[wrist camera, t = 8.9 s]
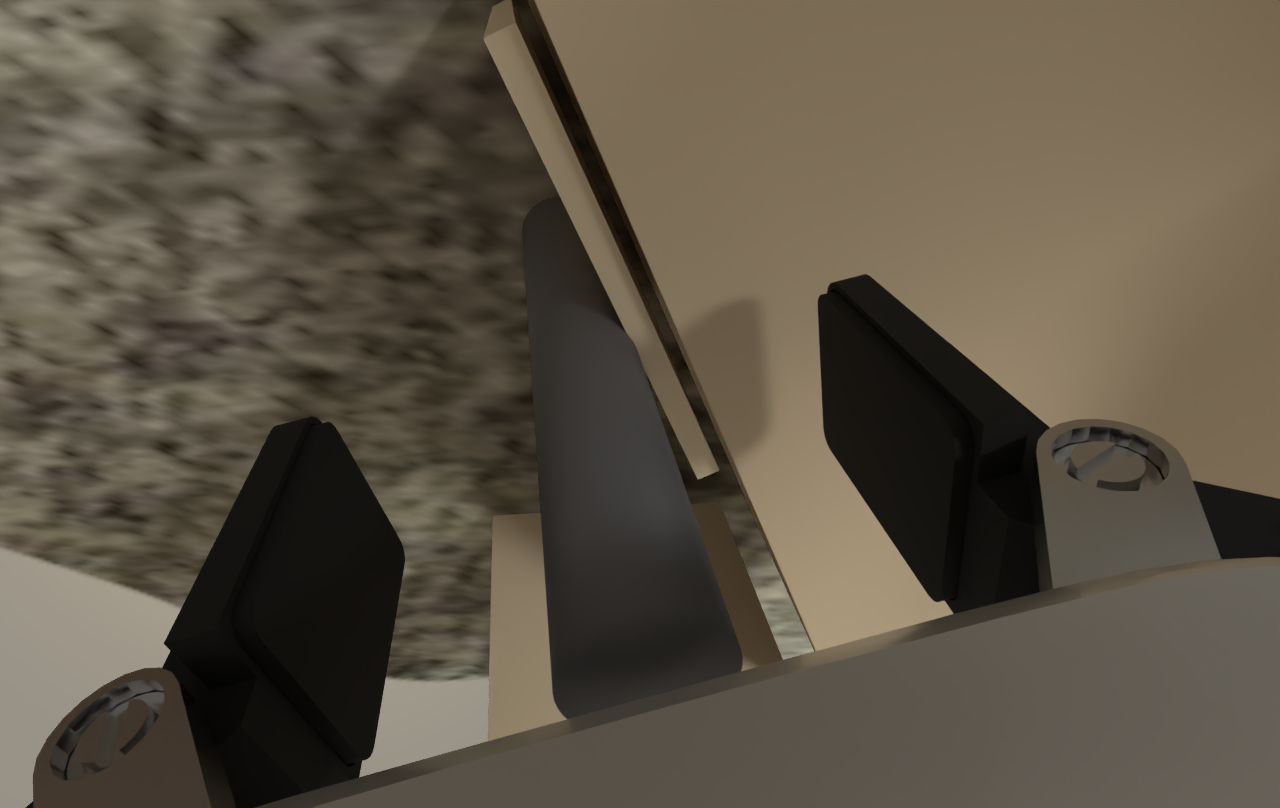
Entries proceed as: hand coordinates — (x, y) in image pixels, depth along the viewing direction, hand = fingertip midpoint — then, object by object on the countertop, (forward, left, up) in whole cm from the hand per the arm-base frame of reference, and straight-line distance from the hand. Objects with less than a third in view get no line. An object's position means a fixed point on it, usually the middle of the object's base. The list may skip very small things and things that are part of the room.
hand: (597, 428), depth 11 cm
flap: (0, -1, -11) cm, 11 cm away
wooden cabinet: (-9, +4, -11) cm, 15 cm away
